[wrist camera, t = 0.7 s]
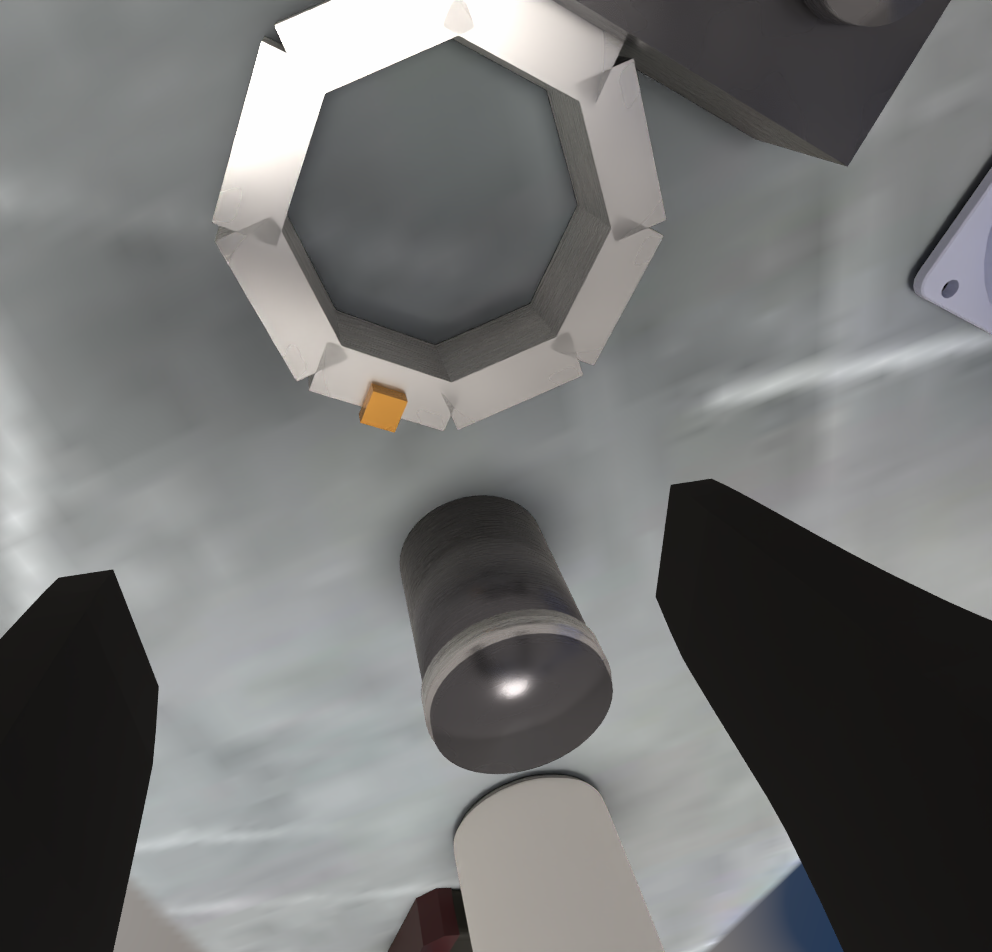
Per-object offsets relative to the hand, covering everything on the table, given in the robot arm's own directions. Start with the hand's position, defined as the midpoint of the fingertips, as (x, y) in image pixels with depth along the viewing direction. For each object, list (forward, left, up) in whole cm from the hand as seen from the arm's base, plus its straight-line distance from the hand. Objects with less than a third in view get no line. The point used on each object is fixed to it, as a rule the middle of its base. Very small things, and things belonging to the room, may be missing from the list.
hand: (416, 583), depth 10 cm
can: (-14, +18, -10) cm, 24 cm away
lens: (-6, +6, -10) cm, 13 cm away
